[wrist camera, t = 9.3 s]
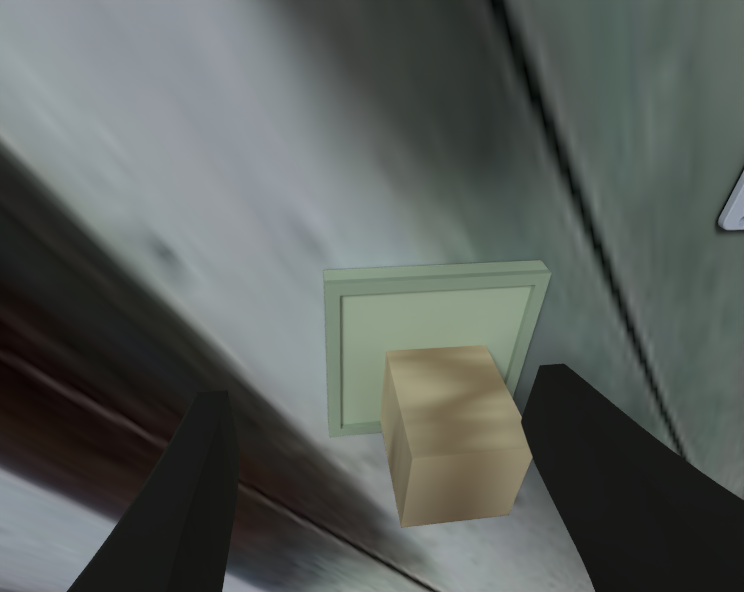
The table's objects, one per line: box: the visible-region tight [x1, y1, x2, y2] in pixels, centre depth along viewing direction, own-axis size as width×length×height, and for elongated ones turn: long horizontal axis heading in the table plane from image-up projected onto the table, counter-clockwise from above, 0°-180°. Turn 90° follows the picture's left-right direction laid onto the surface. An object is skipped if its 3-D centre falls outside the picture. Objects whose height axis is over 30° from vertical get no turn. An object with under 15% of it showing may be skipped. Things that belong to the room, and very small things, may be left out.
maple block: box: [380, 345, 532, 528], centre depth 22 cm, size 5×5×6 cm
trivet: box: [324, 260, 551, 437], centre depth 23 cm, size 10×10×1 cm
